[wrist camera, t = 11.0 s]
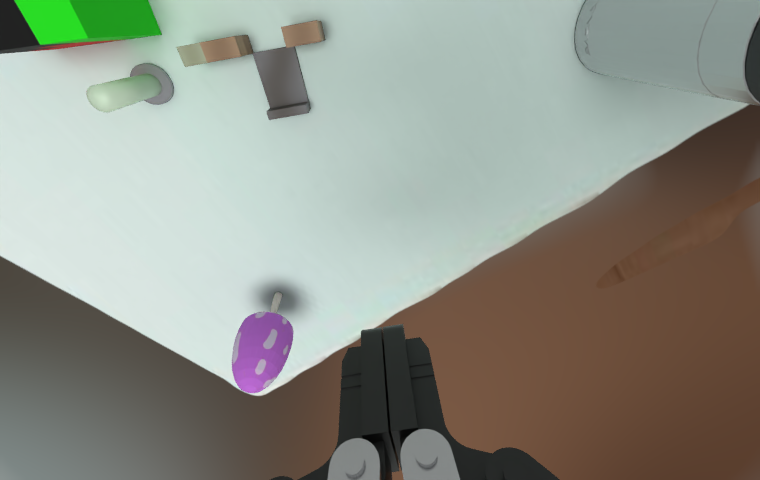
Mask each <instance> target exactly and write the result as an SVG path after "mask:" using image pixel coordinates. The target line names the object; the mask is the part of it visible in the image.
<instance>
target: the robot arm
mask: <svg viewBox="0 0 760 480" xmlns="http://www.w3.org/2000/svg"><path fill="white" fill-rule="evenodd" d="M575 45H576V51H577V54H578V56H579V59H580V61H581V62H582V63H583V64H584V66H585V67H587V68H588V69H589V70H591V71H593V72H596V73H599V74H603V75H608V76H613V77H618V78H623V79H627V80H632V81H637V82H642V83H647V84H652V85H657V86H662V87H667V88H672V89H677V90H682V91H687V92H692V93H697V94H702V95H707V96H712V97H717V98H723V99H728V100H734V101H739V102H744V103H749V104H754V105H759V106H760V0H586V2H585V3H584V5H583V7H582V10H581V12H580V15H579V17H578V21H577V25H576V30H575ZM398 460H399V462H398ZM399 463H400V467H401V470H402V472H403V478H404V480H559V479H558V478H557V477H555V475H553V474H552V473H551V472H550V471H548V470H547V469H546V468H545V467H543V466H542V465H541V464H540V463H538V462H537V461H536V460H535V459H534V458H532V457H531V456H530V455H528V454H527V453H525V452H523V451H521V450H519V449H516V448H502V449H499V450H497V451H495V452H494V453H493V454H492V453H487V452H483V451H479V450H475V449H471V448H467V447H465V446H463V445H461V444H460V443H458V442H457V441H456V440H455V439H454V438H453V437H452V436H451V435H450V433H449V432H448V430H447V428H446V426H445V423H444V418H443V413H442V409H441V404H440V399H439V395H438V391H437V386H436V381H435V377H434V371H433V367H432V363H431V357H430V353H429V349H428V347H427V346H426V345H425V343H424V342H423V341H422V339H421V338H420V337H419V338H413V339H405V334H404V328H403V324H401V325H394V326H387V327H383V330H382V327H381V328H374V329H368V330H362V331H361V346H360V347H352V348H348V351H347V353H346V355H345V357H344V359H343V361H342V379H341V396H340V416H339V436H338V442H337V446H336V448H335V451H334V453H333V454H332V456H331V457H330V459H329V460H328V461H327V462H326V463H325V464H324V465H323V466H322V467H320V468H319V469H317V470H315V471H313V472H311V473H310V474H308V475H306V476H304V477H302V478H300V479H298V480H392V472H396V471H399ZM271 480H293V479H291V478H289V477H284V476H279V477H275V478H273V479H271Z"/></svg>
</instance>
